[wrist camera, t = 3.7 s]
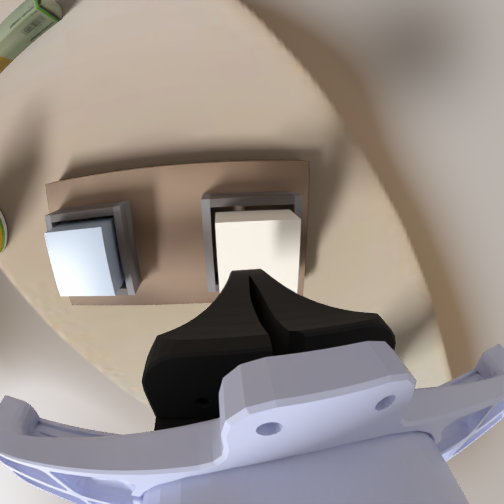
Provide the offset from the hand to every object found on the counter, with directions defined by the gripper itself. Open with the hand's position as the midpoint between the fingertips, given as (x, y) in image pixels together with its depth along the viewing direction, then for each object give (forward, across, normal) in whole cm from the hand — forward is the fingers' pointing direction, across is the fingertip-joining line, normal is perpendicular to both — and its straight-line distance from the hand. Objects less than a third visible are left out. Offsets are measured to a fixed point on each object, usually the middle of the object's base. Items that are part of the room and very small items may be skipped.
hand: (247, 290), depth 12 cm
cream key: (+5, -1, 0) cm, 5 cm away
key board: (+9, +5, 0) cm, 10 cm away
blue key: (+6, +10, 0) cm, 12 cm away
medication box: (+10, +20, -20) cm, 30 cm away
